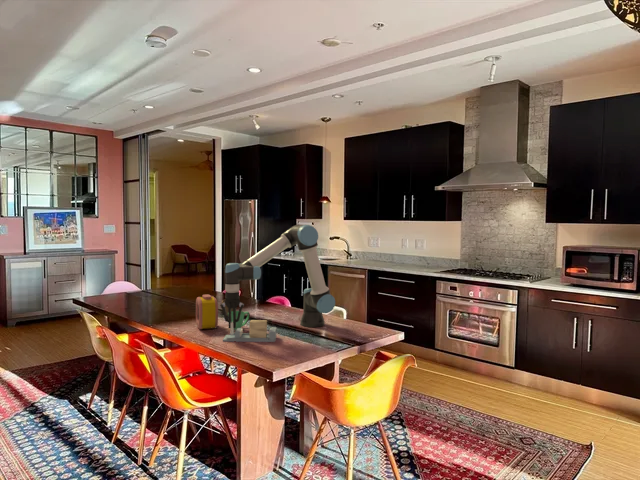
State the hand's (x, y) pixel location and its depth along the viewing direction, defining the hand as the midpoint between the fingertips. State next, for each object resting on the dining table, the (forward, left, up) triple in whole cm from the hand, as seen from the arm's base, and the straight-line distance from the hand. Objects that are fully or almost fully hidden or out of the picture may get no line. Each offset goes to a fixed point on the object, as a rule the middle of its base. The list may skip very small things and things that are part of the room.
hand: (232, 334), depth 251 cm
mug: (-23, 0, -3) cm, 24 cm away
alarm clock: (-25, -20, -3) cm, 32 cm away
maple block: (0, +14, -2) cm, 14 cm away
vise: (0, +10, -3) cm, 11 cm away
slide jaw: (0, +4, -1) cm, 4 cm away
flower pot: (-59, -12, -3) cm, 61 cm away
